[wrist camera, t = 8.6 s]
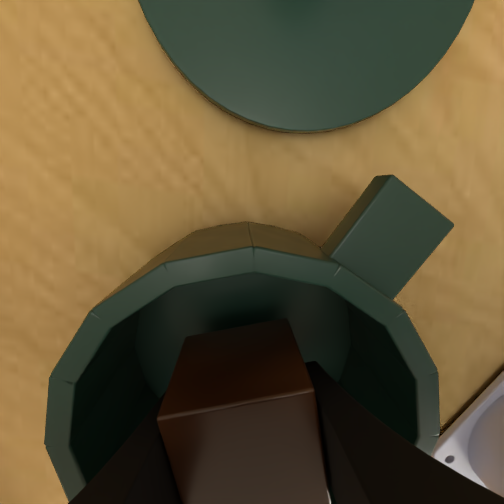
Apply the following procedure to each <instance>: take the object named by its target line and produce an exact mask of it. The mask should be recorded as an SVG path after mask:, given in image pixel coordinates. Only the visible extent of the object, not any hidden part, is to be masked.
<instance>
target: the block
mask: <svg viewBox="0 0 504 504" xmlns="http://www.w3.org/2000/svg"><path fill="white" fill-rule="evenodd" d="M157 423H158V426H159V430H160V433H161V436H162V439H163V443H164V446H165V449H166V452H167V456H168V459H169V462H170V466H171V469H172V472H173V475H174V479H175V482H176V485H177V488H178V492H179V495H180V498H181V501H182V504H331V497H330V490H329V483H328V477H327V470H326V463H325V456H324V449H323V443H322V436H321V429H320V422H319V416H318V409H317V402H316V395H315V389H314V387H313V384H312V381H311V379H310V376H309V373H308V371H307V368H306V365H305V363H304V360H303V357H302V355H301V352H300V350H299V347H298V344H297V342H296V339H295V336H294V334H293V331H292V328H291V326H290V323H289V320H288V319H287V318H283V319H278V320H272V321H267V322H262V323H256V324H251V325H245V326H240V327H235V328H229V329H224V330H219V331H213V332H208V333H202V334H197V335H192V336H187V337H185V340H184V342H183V345H182V348H181V351H180V354H179V357H178V359H177V362H176V365H175V368H174V371H173V373H172V376H171V379H170V382H169V385H168V388H167V390H166V393H165V396H164V399H163V402H162V404H161V407H160V410H159V413H158V416H157Z"/></svg>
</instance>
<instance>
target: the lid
mask: <svg viewBox="0 0 504 504" xmlns="http://www.w3.org/2000/svg"><path fill="white" fill-rule="evenodd" d="M138 1H139V3H140V5H141V8H142V10H143V13H144V15H145V18H146V20H147V21H148V23H149V25H150V27H151V29H152V31H153V32H154V34H155V36H156V38H157V40H158V42H159V43H160V45H161V47H162V49H163V50H164V51H165V53H166V54H167V56H168V57H169V58H170V60H171V61H172V63H173V64H174V66H175V67H176V68H177V69H178V71H179V72H180V73H181V74H182V75H183V76H184V77H185V78H186V79H187V80H188V82H189V83H190V84H191V85H192V86H193V87H194V88H195V89H197V90H198V91H199V92H200V93H201V94H202V95H204V96H205V97H206V98H207V99H208V100H209V101H211V102H212V103H214V104H215V105H217V106H218V107H220V108H221V109H223V110H224V111H226V112H227V113H229V114H231V115H233V116H235V117H237V118H239V119H241V120H244V121H246V122H248V123H251V124H254V125H257V126H260V127H263V128H266V129H270V130H276V131H282V132H288V133H316V132H325V131H331V130H335V129H339V128H343V127H347V126H350V125H353V124H355V123H358V122H360V121H362V120H365V119H367V118H370V117H371V116H373V115H375V114H377V113H379V112H380V111H382V110H384V109H386V108H387V107H389V106H391V105H393V104H394V103H395V102H397V101H398V100H399V99H401V98H402V97H403V96H405V95H406V94H407V93H409V92H410V91H411V90H412V89H413V88H415V87H416V86H417V85H418V84H419V83H420V82H421V81H422V80H423V79H424V78H425V77H426V76H427V75H428V74H429V73H430V72H431V71H432V69H433V68H434V67H435V66H436V65H437V63H438V62H439V61H440V60H441V59H442V57H443V56H444V55H445V53H446V52H447V50H448V49H449V47H450V46H451V44H452V43H453V41H454V40H455V38H456V37H457V35H458V33H459V32H460V30H461V28H462V26H463V24H464V22H465V20H466V18H467V16H468V14H469V12H470V10H471V8H472V5H473V3H474V0H138Z"/></svg>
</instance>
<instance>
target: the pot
mask: <svg viewBox="0 0 504 504" xmlns="http://www.w3.org/2000/svg"><path fill="white" fill-rule="evenodd" d="M453 227H454V224H453V223H452V222H451V221H450V220H449V219H447V218H446V217H445V216H444V215H442V214H441V213H440V212H439V211H438V210H436V209H435V208H434V207H433V206H431V205H430V204H429V203H428V202H426V201H425V200H424V199H423V198H421V197H420V196H419V195H418V194H416V193H415V192H414V191H413V190H411V189H410V188H409V187H408V186H406V185H405V184H404V183H403V182H402V181H400V180H399V179H398V178H397V177H395V176H394V175H382V176H376V177H374V179H373V180H372V181H371V183H370V184H369V185H368V187H367V188H366V189H365V191H364V192H363V193H362V195H361V196H360V197H359V199H358V200H357V201H356V203H355V204H354V205H353V207H352V208H351V209H350V211H349V212H348V213H347V214H346V216H345V217H344V218H343V220H342V221H341V222H340V224H339V225H338V226H337V228H336V229H335V230H334V232H333V233H332V234H331V236H330V237H329V238H328V240H327V241H326V242H325V244H324V245H323V246H322V248H320V247H318V246H317V245H316V244H314V243H313V242H311V241H310V240H309V239H307V238H306V237H304V236H303V235H302V234H300V233H297V232H294V231H289V230H285V229H282V228H278V227H275V226H270V225H264V224H257V223H252V222H241V223H235V224H226V225H220V226H216V227H212V228H208V229H203V230H198V231H195V232H192V233H191V234H189V235H188V236H186V237H185V238H183V239H182V240H180V241H178V242H177V243H175V244H174V245H172V246H171V247H170V248H168V249H166V250H165V251H163V252H162V253H160V254H159V255H157V256H156V257H154V258H153V259H151V260H150V261H149V262H148V263H147V264H145V265H144V266H143V267H142V268H141V269H139V270H138V271H137V272H136V273H134V274H133V275H132V276H131V277H130V278H128V279H127V280H126V281H125V282H124V283H122V284H121V285H120V286H119V287H118V288H116V289H115V290H114V291H113V292H111V293H110V294H109V295H108V296H107V297H105V298H104V299H103V300H102V301H101V302H99V303H98V304H97V305H96V306H95V307H93V309H92V310H91V311H90V312H89V313H88V315H87V316H86V318H85V320H84V321H83V323H82V324H81V326H80V328H79V329H78V331H77V332H76V334H75V336H74V337H73V339H72V340H71V342H70V344H69V345H68V347H67V348H66V350H65V352H64V353H63V355H62V356H61V358H60V360H59V361H58V363H57V364H56V366H55V368H54V369H53V371H52V373H51V375H50V377H49V388H48V401H47V414H46V427H45V440H44V444H45V445H46V449H47V452H48V454H49V456H50V459H51V461H52V464H53V466H54V468H55V471H56V473H57V475H58V478H59V480H60V482H61V485H62V487H63V489H64V492H65V494H66V496H67V499H68V501H69V502H70V501H71V500H72V499H73V498H74V497H75V496H76V495H77V494H78V493H79V492H80V491H81V490H82V489H83V488H84V487H85V486H86V485H87V484H88V483H89V482H90V481H91V480H92V479H93V478H94V477H95V475H96V474H97V473H98V472H99V471H100V470H101V469H102V468H103V467H104V466H105V464H106V463H107V462H108V461H109V460H110V459H111V458H112V456H113V455H114V454H115V453H116V452H117V451H118V450H119V448H120V447H121V446H122V445H123V444H124V443H125V441H126V440H127V439H128V438H129V437H130V436H131V434H132V433H133V432H134V431H135V429H136V428H137V427H138V426H139V424H140V423H141V422H142V421H143V419H144V418H145V417H146V416H147V414H148V413H149V412H150V411H151V409H152V408H153V407H154V405H155V404H156V403H157V402H158V400H159V399H160V398H161V396H162V395H163V394H164V393H165V392H166V390H167V388H168V385H169V382H170V379H171V376H172V373H173V371H174V368H175V365H176V362H177V359H178V357H179V354H180V351H181V348H182V345H183V342H184V340H185V337H187V336H192V335H197V334H202V333H208V332H213V331H219V330H224V329H229V328H235V327H240V326H245V325H251V324H256V323H262V322H267V321H272V320H278V319H283V318H287V319H288V320H289V323H290V326H291V328H292V331H293V334H294V336H295V339H296V342H297V344H298V347H299V350H300V352H301V355H302V357H303V360H304V363H306V362H311V361H316V362H318V363H319V364H320V365H321V366H322V367H323V368H324V370H325V371H326V372H327V373H328V374H329V375H330V376H331V377H332V378H333V379H334V380H335V381H336V382H337V383H338V384H339V385H340V386H341V387H342V388H343V389H344V390H345V391H346V392H347V393H349V394H350V395H351V396H352V397H353V398H354V399H355V400H356V401H357V402H358V403H360V404H361V405H362V406H363V407H364V408H365V409H367V410H368V411H369V412H370V413H371V414H373V415H374V416H375V417H376V418H378V419H379V420H380V421H381V422H383V423H384V424H385V425H387V426H388V427H389V428H390V429H392V430H393V431H395V432H396V433H397V434H399V435H400V436H402V437H403V438H404V439H406V440H407V441H409V442H410V443H411V444H413V445H414V446H416V447H417V448H419V449H421V450H422V451H424V452H425V453H427V454H428V455H430V456H431V455H432V453H433V451H434V448H435V446H436V444H437V441H438V439H439V434H440V414H439V381H438V372H437V367H436V366H435V364H434V362H433V360H432V358H431V357H430V355H429V353H428V351H427V349H426V347H425V346H424V344H423V342H422V340H421V338H420V336H419V335H418V333H417V331H416V329H415V327H414V326H413V324H412V322H411V320H410V318H409V316H408V315H407V313H406V311H405V310H404V309H403V308H402V307H401V306H400V305H399V304H397V303H396V302H394V301H393V299H394V298H395V297H396V295H397V294H398V293H399V292H400V291H401V289H402V288H403V287H404V286H405V285H406V283H407V282H408V281H409V280H410V279H411V277H412V276H413V275H414V274H415V273H416V271H417V270H418V269H419V268H420V267H421V265H422V264H423V263H424V262H425V261H426V259H427V258H428V257H429V256H430V255H431V253H432V252H433V251H434V250H435V249H436V247H437V246H438V245H439V244H440V243H441V241H442V240H443V239H444V238H445V237H446V235H447V234H448V233H449V232H450V231H451V229H452V228H453ZM328 483H329V481H328ZM329 490H330V497H331V504H337V503H336V500H335V497H334V495H333V492H332V489H331V487H330V484H329Z"/></svg>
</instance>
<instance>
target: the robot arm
mask: <svg viewBox="0 0 504 504" xmlns="http://www.w3.org/2000/svg"><path fill="white" fill-rule="evenodd" d="M305 365H306V368H307V371H308V373H309V376H310V379H311V381H312V384H313V387H314V389H315V395H316V402H317V409H318V416H319V422H320V429H321V436H322V443H323V449H324V456H325V463H326V470H327V477H328V481H329V484H330V487H331V489H332V492H333V495H334V497H335V500H336V503H337V504H504V371H503V372H502V373H501V374H500V375H499V376H498V377H497V378H496V379H495V380H494V381H493V382H492V383H491V384H490V385H489V386H488V387H487V388H486V389H485V390H484V391H483V392H482V393H481V394H480V396H479V397H478V398H477V399H476V400H475V401H474V402H473V403H472V404H471V405H470V406H469V407H468V408H467V409H466V410H465V411H464V412H463V413H462V414H461V415H460V416H459V417H458V418H457V420H456V421H455V422H454V423H453V424H452V425H451V426H450V427H449V428H448V429H447V430H446V431H445V432H444V433H443V434H442V435H441V436H440V437H439V439H438V441H437V444H436V446H435V448H434V451H433V453H432V457H431V456H430V455H428V454H427V453H425V452H424V451H422V450H421V449H419V448H417V447H416V446H414V445H413V444H411V443H410V442H409V441H407V440H406V439H404V438H403V437H402V436H400V435H399V434H397V433H396V432H395V431H393V430H392V429H390V428H389V427H388V426H387V425H385V424H384V423H383V422H381V421H380V420H379V419H378V418H376V417H375V416H374V415H373V414H371V413H370V412H369V411H368V410H367V409H365V408H364V407H363V406H362V405H361V404H360V403H358V402H357V401H356V400H355V399H354V398H353V397H352V396H351V395H350V394H349V393H347V392H346V391H345V390H344V389H343V388H342V387H341V386H340V385H339V384H338V383H337V382H336V381H335V380H334V379H333V378H332V377H331V376H330V375H329V374H328V373H327V372H326V371H325V370H324V368H323V367H322V366H321V365H320V364H319V363H318V362H316V361H311V362H306V363H305ZM165 393H166V392H165ZM165 393H164V394H163V395H162V396H161V398H160V399H159V400H158V402H157V403H156V404H155V405H154V407H153V408H152V409H151V411H150V412H149V413H148V414H147V416H146V417H145V418H144V419H143V421H142V422H141V423H140V424H139V426H138V427H137V428H136V429H135V431H134V432H133V433H132V434H131V436H130V437H129V438H128V439H127V440H126V441H125V443H124V444H123V445H122V446H121V447H120V448H119V450H118V451H117V452H116V453H115V454H114V455H113V456H112V458H111V459H110V460H109V461H108V462H107V463H106V464H105V466H104V467H103V468H102V469H101V470H100V471H99V472H98V473H97V474H96V475H95V477H94V478H93V479H92V480H91V481H90V482H89V483H88V484H87V485H86V486H85V487H84V488H83V489H82V490H81V491H80V492H79V493H78V494H77V495H76V496H75V497H74V498H73V499H72V500H71V501H70V502H69V503H68V504H182V501H181V498H180V495H179V492H178V488H177V485H176V482H175V479H174V475H173V472H172V469H171V466H170V462H169V459H168V456H167V452H166V449H165V446H164V443H163V439H162V436H161V433H160V430H159V426H158V423H157V416H158V413H159V410H160V407H161V404H162V402H163V399H164V396H165Z"/></svg>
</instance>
